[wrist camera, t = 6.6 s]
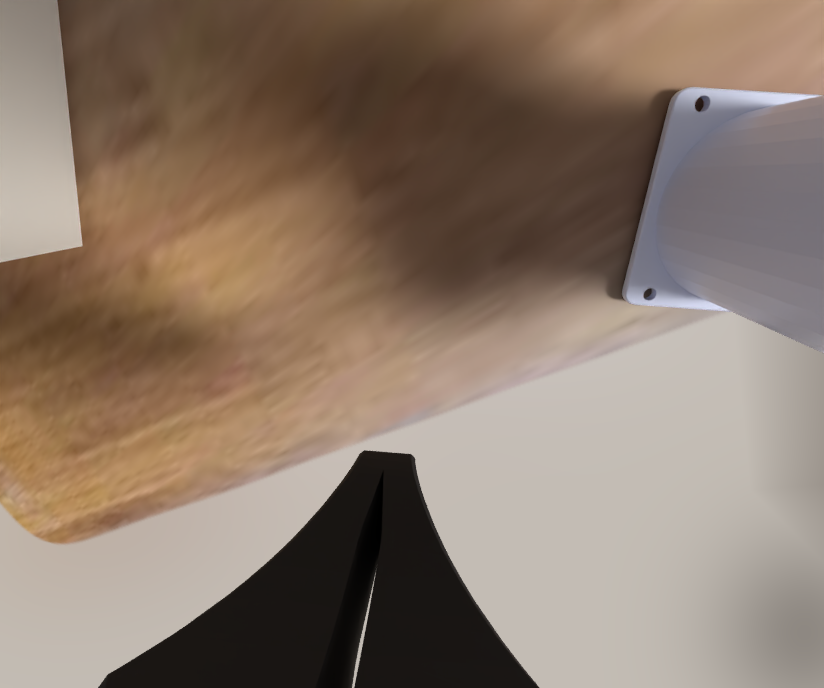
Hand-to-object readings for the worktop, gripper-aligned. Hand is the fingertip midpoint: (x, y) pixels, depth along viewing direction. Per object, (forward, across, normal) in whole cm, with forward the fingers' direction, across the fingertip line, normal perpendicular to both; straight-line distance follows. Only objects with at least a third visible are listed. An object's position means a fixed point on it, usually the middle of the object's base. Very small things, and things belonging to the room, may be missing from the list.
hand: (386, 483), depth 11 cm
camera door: (+9, +14, -9) cm, 19 cm away
